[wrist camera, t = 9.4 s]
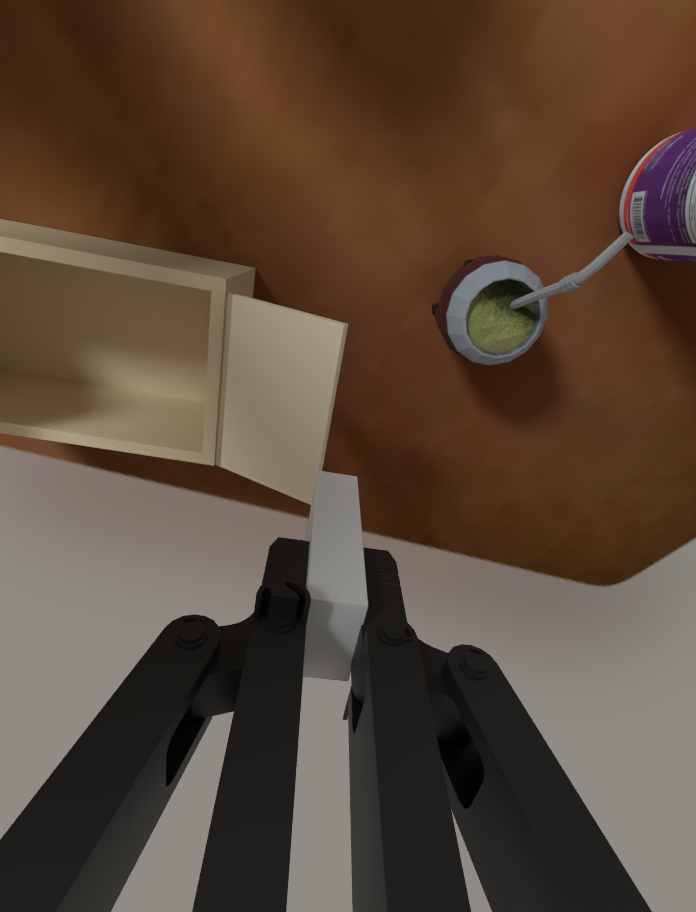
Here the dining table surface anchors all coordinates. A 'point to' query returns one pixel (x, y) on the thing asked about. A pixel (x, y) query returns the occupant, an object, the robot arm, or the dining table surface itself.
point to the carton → (112, 342)
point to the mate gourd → (502, 305)
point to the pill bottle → (663, 200)
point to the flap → (277, 393)
